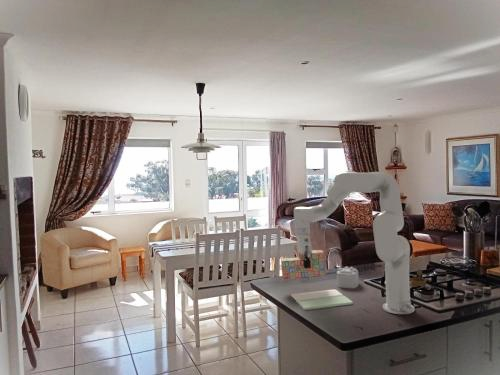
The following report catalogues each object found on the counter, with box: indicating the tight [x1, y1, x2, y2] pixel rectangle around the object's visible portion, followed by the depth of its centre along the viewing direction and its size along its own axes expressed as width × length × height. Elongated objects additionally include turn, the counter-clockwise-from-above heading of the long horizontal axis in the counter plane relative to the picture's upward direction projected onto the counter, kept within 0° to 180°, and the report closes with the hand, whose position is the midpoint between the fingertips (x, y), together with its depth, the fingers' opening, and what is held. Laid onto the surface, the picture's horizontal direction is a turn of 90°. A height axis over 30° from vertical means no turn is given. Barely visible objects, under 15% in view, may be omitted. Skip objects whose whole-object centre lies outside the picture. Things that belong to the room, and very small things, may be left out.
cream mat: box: [290, 288, 344, 303], centre depth 182 cm, size 9×23×1 cm, turn 101°
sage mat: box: [297, 295, 354, 311], centre depth 172 cm, size 9×23×1 cm, turn 101°
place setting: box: [410, 269, 427, 287], centre depth 190 cm, size 18×20×6 cm
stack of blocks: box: [280, 249, 327, 280], centre depth 191 cm, size 21×6×12 cm, turn 90°
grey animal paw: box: [336, 266, 360, 289], centre depth 199 cm, size 10×13×9 cm
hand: (305, 265), depth 191 cm, fingers closed on stack of blocks, 6 cm apart
